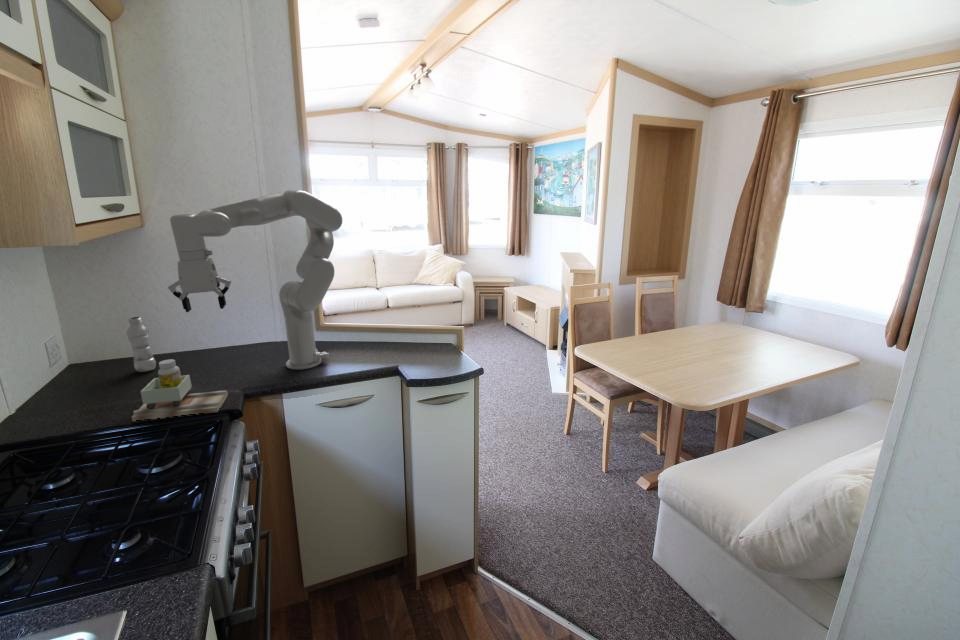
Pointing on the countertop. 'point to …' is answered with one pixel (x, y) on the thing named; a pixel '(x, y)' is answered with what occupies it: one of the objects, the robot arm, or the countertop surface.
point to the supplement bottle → (169, 374)
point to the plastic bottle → (140, 345)
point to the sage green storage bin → (165, 392)
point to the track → (183, 406)
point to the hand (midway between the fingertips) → (205, 309)
